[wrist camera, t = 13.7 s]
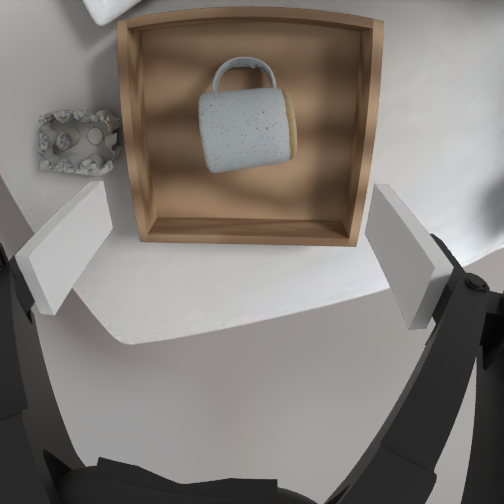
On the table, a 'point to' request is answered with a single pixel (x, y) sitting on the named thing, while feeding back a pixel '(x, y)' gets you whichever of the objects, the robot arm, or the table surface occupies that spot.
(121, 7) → the square plate
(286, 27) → the wooden crate
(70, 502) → the robot arm
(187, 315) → the table surface
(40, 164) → the egg carton
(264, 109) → the ceramic mug
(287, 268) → the table surface
